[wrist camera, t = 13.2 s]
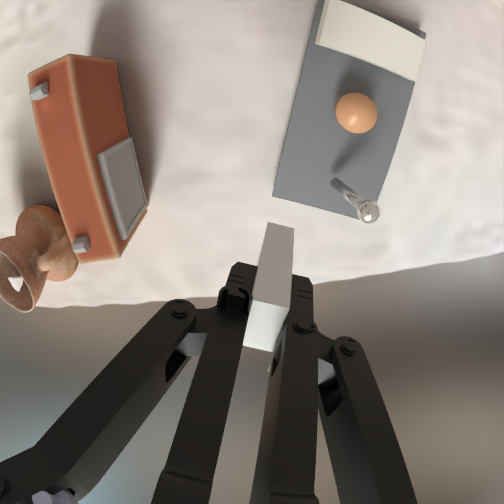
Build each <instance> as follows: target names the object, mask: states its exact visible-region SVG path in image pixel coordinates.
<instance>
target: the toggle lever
mask: <svg viewBox="0 0 504 504" xmlns="http://www.w3.org/2000/svg"><path fill="white" fill-rule="evenodd" d="M330 185H331V187H332V188H333V189H335V190H336V191H337V192H338V193H339V194H340V195H341V196H343V197H344V198H345V199H346V200H347V201H348V202H349V203H350V204H352V205H353V206H354V207H355V208H356V209H357V214H358V217H359V219H360V220H361V221H362V222H364V223H368V224H371V223H374V222H376V221H377V220H378V219H379V217H380V213H381V211H380V207H379V205H378V204H377V203H376V202H375V201H373V200H370V199H367V200H365V199H363V198H362V197H361V196H360V195H359V194H357V193H356V192H355V191H354V190H352V189H351V188H350V187H349V186H347V185H346V184H345V183H344V182H342V181H341V180H340V179H339V178H332V179H331V181H330Z"/></svg>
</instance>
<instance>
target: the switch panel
mask: <svg viewBox="0 0 504 504" xmlns="http://www.w3.org/2000/svg"><path fill="white" fill-rule="evenodd" d="M324 2H325V0H318V4H317V8H316V13H315V17H314V21H313V26H312V30H311V34H310V38H309V43H308V47H307V51H306V55H305V60H304V64H303V68H302V72H301V77H300V81H299V85H298V89H297V93H296V98H295V102H294V106H293V110H292V114H291V119H290V123H289V127H288V131H287V135H286V139H285V144H284V148H283V152H282V156H281V160H280V164H279V168H278V173H277V177H276V181H275V185H274V189H273V193H272V196H273V197H277V198H281V199H285V200H289V201H293V202H297V203H301V204H305V205H308V206H312V207H316V208H320V209H323V210H327V211H331V212H334V213H338V214H341V215H345V216H349V217H352V218H356V219H359V217H358V214H357V209H356V208H355V207H354V206H353V205H352V204H350V203H349V202H348V201H347V200H346V199H345V198H344V197H343V196H341V195H340V194H339V193H338V192H337V191H336V190H335V189H333V188H332V187H331V185H330V181H331V179H332V178H339V179H340V180H341V181H342V182H344V183H345V184H346V185H347V186H349V187H350V188H351V189H352V190H354V191H355V192H356V193H357V194H359V195H360V196H361V197H362V198H363V199H365V200H367V199H370V200H373V201H375V202H376V203H377V200H378V197H379V195H380V192H381V189H382V186H383V184H384V181H385V178H386V175H387V172H388V169H389V167H390V164H391V161H392V158H393V155H394V152H395V149H396V145H397V142H398V139H399V136H400V133H401V130H402V126H403V123H404V120H405V116H406V113H407V109H408V106H409V102H410V99H411V95H412V91H413V88H414V84H415V81H411V80H408V79H406V78H404V77H402V76H400V75H397V74H395V73H393V72H391V71H388V70H386V69H384V68H381V67H379V66H376V65H374V64H371V63H369V62H366V61H364V60H361V59H359V58H356V57H353V56H350V55H348V54H345V53H342V52H339V51H336V50H333V49H330V48H327V47H323V46H320V45H317V44H315V41H316V36H317V32H318V28H319V24H320V19H321V15H322V11H323V6H324ZM351 5H353V4H351ZM354 6H356V5H354ZM356 7H359V6H356ZM359 8H361V9H363V10H366V11H368V12H370V13H373V14H375V15H377V16H379V17H381V18H384V19H386V20H388V21H390V22H392V23H394V24H396V25H398V26H400V27H402V28H404V29H406V30H408V31H409V32H411V33H413V34H415V35H417V36H419V37H420V38H422V39H424V40H425V37H426V33H425V32H423V31H421V30H418V29H416V28H414V27H412V26H409V25H407V24H405V23H402V22H400V21H398V20H395V19H393V18H390V17H387V16H385V15H382V14H379V13H377V12H374V11H371V10H368V9H365V8H362V7H359ZM346 93H360V94H363V95H365V96H367V97H369V98H370V99H371V100H372V101H373V102H374V104H375V106H376V109H377V120H376V123H375V125H374V126H373V127H372V128H371V129H370V130H368V131H367V132H364V133H353V132H350V131H348V130H346V129H345V128H344V127H343V126H342V125H341V124H340V123H339V122H338V121H337V119H336V116H335V112H334V109H335V104H336V102H337V100H338V99H339V98H340V97H341V96H342V95H344V94H346ZM359 220H360V219H359Z"/></svg>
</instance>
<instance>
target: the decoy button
mask: <svg viewBox="0 0 504 504" xmlns="http://www.w3.org/2000/svg"><path fill="white" fill-rule="evenodd" d="M334 112H335V116H336V119H337V121H338V122H339V123H340V124H341V125H342V126H343V127H344V128H345V129H346V130H348V131H350V132H353V133H364V132H367V131H368V130H370V129H371V128H372V127H373V126H374V125H375V123H376V120H377V109H376V106H375V104H374V102H373V101H372V100H371V99H370V98H369V97H367V96H365V95H363V94H360V93H346V94H344V95H342V96H341V97H340V98H339V99H338V100H337V102H336V104H335V109H334Z"/></svg>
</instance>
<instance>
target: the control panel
mask: <svg viewBox="0 0 504 504" xmlns="http://www.w3.org/2000/svg"><path fill="white" fill-rule="evenodd" d="M28 82H29V89H30V93H29V96H30V98H31V101H32V107H33V112H34V117H35V122H36V127H37V132H38V136H39V141H40V145H41V149H42V153H43V157H44V161H45V165H46V168H47V172H48V175H49V179H50V182H51V186H52V189H53V192H54V195H55V199H56V202H57V205H58V208H59V211H60V214H61V216H62V219H63V222H64V225H65V228H66V230H67V233H68V236H69V238H70V241H71V244H72V248H73V251H74V252H75V254H76V256H77V259H78V261H79V263H80V264H83V263H90V262H96V261H103V260H110V259H117V258H120V257H121V255H122V253H123V252H124V250H125V248H126V246H127V245H128V243H129V241H130V239H131V238H132V236H133V234H134V233H135V231H136V229H137V228H138V226H139V224H140V223H141V221H142V219H143V218H144V216H145V215H146V213H147V206H148V203H147V200H146V196H145V192H144V188H143V184H142V180H141V176H140V171H139V167H138V163H137V158H136V154H135V149H134V145H133V138H132V137H129V132H128V127H127V122H126V117H125V111H124V106H123V101H122V95H121V89H120V83H119V77H118V70H117V64H116V60H110V59H104V58H98V57H91V56H83V55H75V54H68V55H66V56H63V57H61V58H59V59H57V60H54V61H52V62H50V63H48V64H46V65H44V66H42V67H40V68H38V69H36V70H34V71H32V72H30V73H29V74H28Z"/></svg>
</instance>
